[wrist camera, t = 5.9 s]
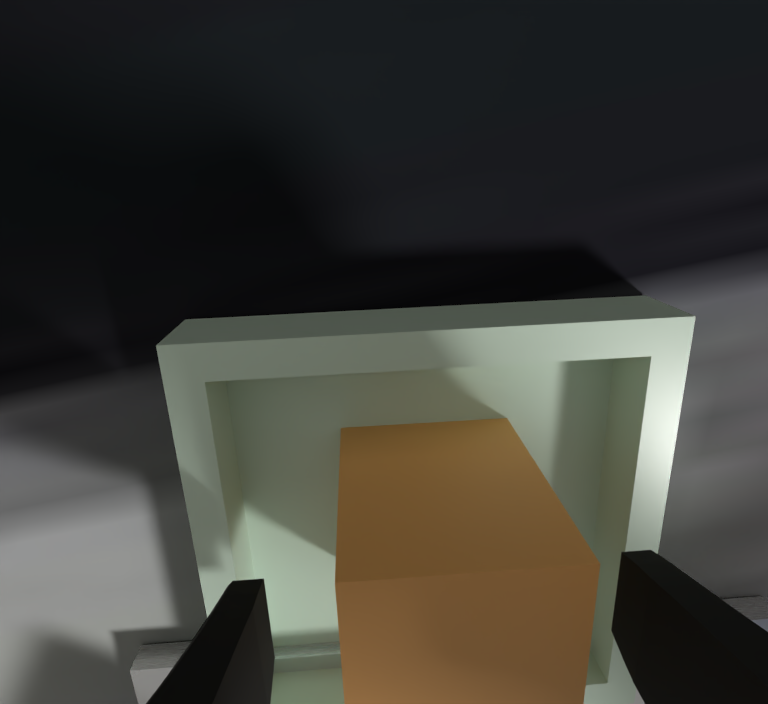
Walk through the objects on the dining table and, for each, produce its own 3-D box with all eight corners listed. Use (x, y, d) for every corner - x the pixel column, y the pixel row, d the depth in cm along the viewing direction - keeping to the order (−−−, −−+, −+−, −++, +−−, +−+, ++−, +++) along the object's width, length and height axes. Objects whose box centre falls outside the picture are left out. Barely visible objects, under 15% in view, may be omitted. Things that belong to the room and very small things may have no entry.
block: (501, 554, 14) (577, 749, 9) (350, 564, 14) (349, 769, 9) (506, 418, 13) (600, 564, 8) (341, 427, 12) (335, 582, 8)
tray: (645, 295, 12) (695, 315, 10) (601, 642, 16) (634, 702, 14) (185, 319, 12) (156, 345, 10) (244, 671, 15) (230, 738, 13)
